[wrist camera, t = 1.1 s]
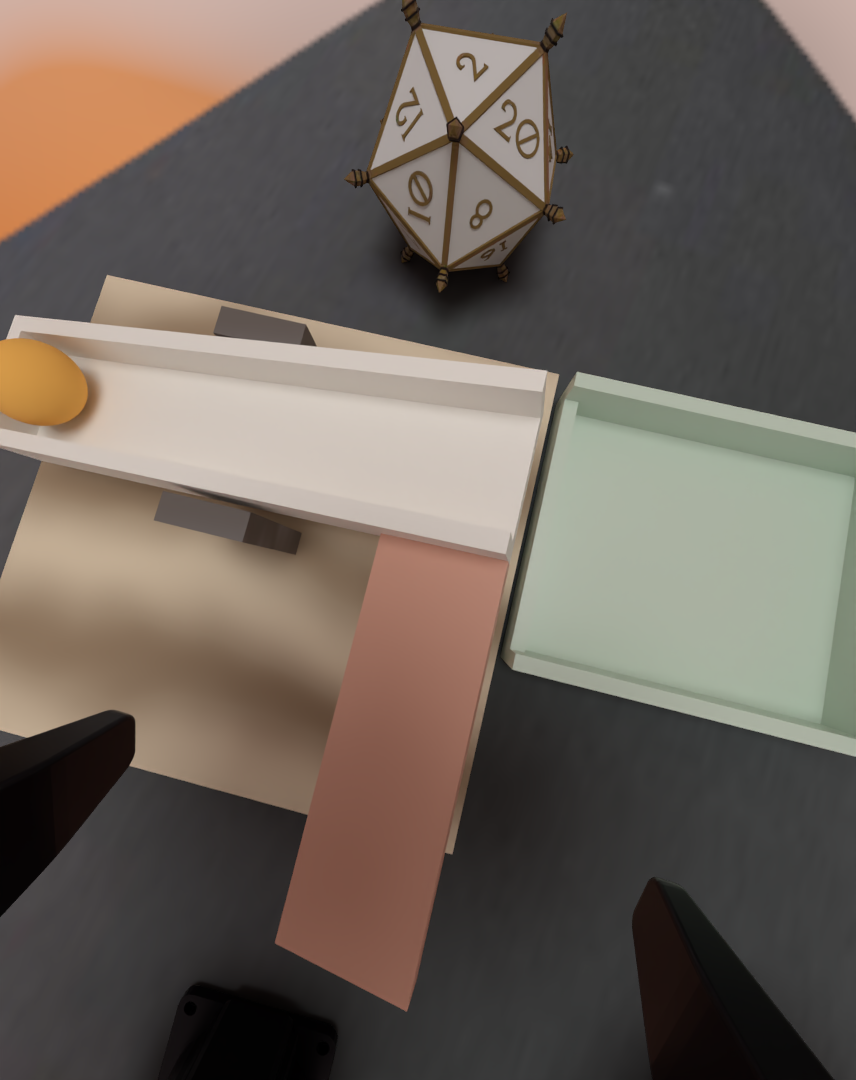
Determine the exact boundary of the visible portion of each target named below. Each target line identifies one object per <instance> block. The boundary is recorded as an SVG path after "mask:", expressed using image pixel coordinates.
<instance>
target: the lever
mask: <svg viewBox="0 0 856 1080" xmlns="http://www.w3.org/2000/svg"><path fill="white" fill-rule="evenodd" d="M13 338H25V339H32V340H37V341H41V342H43V343H46V344H49V345H51V346H53V347H55V348H57V349H59V350H60V351H62V352H63V353H65V354H66V355H67V356H68V357H70V358H71V359H72V360H73V361H74V362H75V363H76V364H77V366H78V367H79V368H80V370H81V371H82V373H83V375H84V377H85V380H86V383H87V387H88V398H87V402H86V404H85V406H84V408H83V410H82V411H81V412H80V413H79V414H78V415H77V416H76V417H75V418H73V419H71V420H70V421H68V422H65V423H62V424H58V425H53V426H38V425H31V424H27V423H23V422H20V421H17V420H15V419H13V418H11V417H9V416H7V415H5V414H3V413H2V412H0V448H2V449H5V450H9V451H12V452H15V453H18V454H22V455H25V456H28V457H31V458H35V459H38V460H41V461H44V462H48V463H53V464H57V465H62V466H66V467H71V468H75V469H80V470H84V471H89V472H93V473H98V474H102V475H107V476H111V477H116V478H121V479H125V480H130V481H134V482H139V483H143V484H148V485H152V486H157V487H161V488H166V489H170V490H175V491H179V492H184V493H188V494H193V495H197V496H202V497H206V498H211V499H215V500H220V501H224V502H229V503H233V504H238V505H242V506H247V507H251V508H256V509H260V510H265V511H269V512H274V513H278V514H283V515H287V516H292V517H296V518H301V519H305V520H310V521H314V522H319V523H323V524H328V525H332V526H337V527H341V528H346V529H350V530H355V531H359V532H364V533H368V534H373V535H377V536H380V538H379V542H378V546H377V550H376V554H375V558H374V561H373V565H372V569H371V573H370V577H369V581H368V585H367V588H366V592H365V596H364V600H363V604H362V608H361V612H360V616H359V619H358V623H357V627H356V631H355V635H354V639H353V643H352V646H351V650H350V654H349V658H348V662H347V666H346V670H345V674H344V677H343V681H342V685H341V689H340V693H339V697H338V701H337V704H336V708H335V712H334V716H333V720H332V724H331V728H330V732H329V735H328V739H327V743H326V747H325V751H324V755H323V759H322V762H321V766H320V770H319V774H318V778H317V782H316V786H315V789H314V793H313V797H312V801H311V805H310V809H309V813H308V817H307V820H306V824H305V828H304V832H303V836H302V840H301V844H300V847H299V851H298V855H297V859H296V863H295V867H294V871H293V875H292V878H291V882H290V886H289V890H288V894H287V898H286V902H285V905H284V909H283V913H282V917H281V921H280V925H279V929H278V932H277V936H276V940H275V944H277V945H279V946H281V947H283V948H285V949H287V950H289V951H291V952H293V953H295V954H297V955H299V956H300V957H302V958H304V959H306V960H308V961H310V962H312V963H314V964H316V965H318V966H320V967H322V968H324V969H326V970H327V971H329V972H331V973H333V974H335V975H337V976H339V977H341V978H343V979H345V980H347V981H349V982H351V983H353V984H354V985H356V986H358V987H360V988H362V989H364V990H366V991H368V992H370V993H372V994H374V995H376V996H378V997H380V998H381V999H383V1000H385V1001H387V1002H389V1003H391V1004H393V1005H395V1006H397V1007H399V1008H401V1009H403V1010H405V1011H407V1010H408V1007H409V1003H410V1000H411V997H412V993H413V990H414V987H415V983H416V980H417V975H418V971H419V967H420V962H421V958H422V953H423V949H424V944H425V940H426V935H427V931H428V926H429V922H430V917H431V913H432V909H433V904H434V900H435V895H436V891H437V886H438V882H439V877H440V873H441V868H442V864H443V859H444V855H445V851H446V846H447V842H448V837H449V833H450V828H451V824H452V819H453V815H454V810H455V806H456V802H457V797H458V793H459V788H460V784H461V779H462V775H463V770H464V766H465V761H466V757H467V752H468V748H469V744H470V739H471V735H472V730H473V726H474V721H475V717H476V712H477V708H478V703H479V699H480V694H481V690H482V686H483V681H484V677H485V672H486V668H487V663H488V659H489V654H490V650H491V645H492V641H493V637H494V632H495V628H496V623H497V619H498V614H499V610H500V605H501V601H502V596H503V592H504V587H505V583H506V579H507V574H508V570H509V565H510V561H511V556H512V552H513V547H514V543H515V538H516V534H517V529H518V525H519V521H520V516H521V512H522V507H523V503H524V498H525V494H526V489H527V485H528V480H529V476H530V472H531V467H532V463H533V458H534V454H535V449H536V445H537V440H538V436H539V431H540V427H541V422H542V418H543V412H544V401H545V390H546V379H547V371H545V370H535V369H526V368H516V367H506V366H497V365H487V364H478V363H468V362H459V361H449V360H439V359H430V358H420V357H411V356H401V355H392V354H382V353H372V352H363V351H353V350H344V349H334V348H325V347H315V346H305V345H296V344H286V343H277V342H267V341H257V340H248V339H238V338H229V337H219V336H210V335H200V334H190V333H181V332H171V331H162V330H152V329H143V328H133V327H123V326H114V325H104V324H95V323H85V322H76V321H66V320H56V319H47V318H37V317H28V316H18V315H15V317H14V320H13V322H12V325H11V328H10V330H9V333H8V336H7V339H13Z"/></svg>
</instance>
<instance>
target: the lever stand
mask: <svg viewBox="0 0 856 1080" xmlns="http://www.w3.org/2000/svg"><path fill="white" fill-rule="evenodd" d="M90 323H95V324H104V325H114V326H123V327H133V328H143V329H152V330H162V331H171V332H181V333H190V334H200V335H210V336H219V337H229V338H238V339H248V340H257V341H267V342H277V343H286V344H296V345H305V346H315V347H325V348H334V349H344V350H353V351H363V352H372V353H382V354H392V355H401V356H411V357H420V358H430V359H439V360H449V361H459V362H468V363H478V364H487V365H497V366H506V367H516V368H526V369H532V368H527V367H523V366H518V365H514V364H509V363H505V362H500V361H496V360H491V359H487V358H482V357H477V356H473V355H468V354H464V353H459V352H455V351H450V350H446V349H441V348H436V347H432V346H427V345H423V344H418V343H414V342H409V341H405V340H400V339H396V338H391V337H386V336H382V335H377V334H373V333H368V332H364V331H359V330H355V329H350V328H346V327H341V326H336V325H332V324H327V323H323V322H318V321H314V320H309V319H305V318H300V317H296V316H291V315H286V314H282V313H277V312H273V311H268V310H264V309H259V308H255V307H250V306H246V305H241V304H236V303H232V302H227V301H223V300H218V299H214V298H209V297H205V296H200V295H196V294H191V293H186V292H182V291H177V290H173V289H168V288H164V287H159V286H155V285H150V284H146V283H141V282H136V281H132V280H127V279H123V278H118V277H114V276H109V275H107V277H106V280H105V283H104V285H103V288H102V291H101V294H100V297H99V300H98V303H97V305H96V308H95V311H94V314H93V317H92V320H91V322H90ZM535 370H537V369H535ZM558 377H559V374H555V373H550V372H547V379H546V390H545V401H544V412H543V418H542V422H541V427H540V431H539V436H538V440H537V445H536V449H535V454H534V458H533V463H532V467H531V472H530V476H529V480H528V485H527V489H526V494H525V498H524V503H523V507H522V512H521V516H520V521H519V525H518V529H517V534H516V538H515V543H514V547H513V552H512V556H511V561H510V565H509V570H508V574H507V579H506V583H505V587H504V592H503V596H502V601H501V605H500V610H499V614H498V619H497V623H496V628H495V632H494V637H493V641H492V645H491V650H490V654H489V659H488V663H487V668H486V672H485V677H484V681H483V686H482V690H481V694H480V699H479V703H478V708H477V712H476V717H475V721H474V726H473V730H472V735H471V739H470V744H469V748H468V752H467V757H466V761H465V766H464V770H463V775H462V779H461V784H460V788H459V793H458V797H457V802H456V806H455V810H454V815H453V819H452V824H451V828H450V833H449V837H448V842H447V846H446V851H445V853H448V854H453V849H454V845H455V840H456V836H457V831H458V827H459V822H460V818H461V813H462V809H463V804H464V800H465V795H466V791H467V786H468V782H469V777H470V773H471V768H472V764H473V759H474V755H475V750H476V746H477V741H478V737H479V732H480V728H481V723H482V719H483V714H484V710H485V705H486V701H487V696H488V692H489V687H490V683H491V678H492V674H493V669H494V665H495V660H496V656H497V651H498V647H499V642H500V638H501V633H502V629H503V624H504V620H505V615H506V611H507V606H508V602H509V597H510V593H511V588H512V584H513V579H514V575H515V570H516V566H517V561H518V557H519V552H520V548H521V543H522V539H523V534H524V530H525V526H526V521H527V517H528V512H529V508H530V503H531V499H532V494H533V490H534V485H535V481H536V476H537V472H538V467H539V463H540V458H541V454H542V449H543V445H544V440H545V436H546V431H547V427H548V422H549V418H550V413H551V409H552V404H553V400H554V395H555V391H556V386H557V382H558ZM379 538H380V536H377V535H373V534H368V533H364V532H359V531H355V530H350V529H346V528H341V527H337V526H332V525H328V524H323V523H319V522H314V521H310V520H305V519H301V518H296V517H292V516H287V515H283V514H278V513H274V512H269V511H265V510H260V509H256V508H251V507H247V506H242V505H238V504H233V503H229V502H224V501H220V500H215V499H211V498H206V497H202V496H197V495H193V494H188V493H184V492H179V491H175V490H170V489H166V488H161V487H157V486H152V485H148V484H143V483H139V482H134V481H130V480H125V479H121V478H116V477H111V476H107V475H102V474H98V473H93V472H89V471H84V470H80V469H75V468H71V467H66V466H62V465H57V464H53V463H48V462H44V461H42V462H41V465H40V468H39V471H38V473H37V476H36V479H35V482H34V485H33V488H32V490H31V493H30V496H29V499H28V502H27V505H26V508H25V510H24V513H23V516H22V519H21V522H20V525H19V527H18V530H17V533H16V536H15V539H14V542H13V545H12V547H11V550H10V553H9V556H8V559H7V562H6V564H5V567H4V570H3V573H2V576H1V579H0V730H1V731H5V732H9V733H12V734H16V735H19V736H23V737H27V738H28V737H31V736H34V735H37V734H40V733H43V732H45V731H48V730H51V729H54V728H57V727H60V726H63V725H66V724H69V723H72V722H74V721H77V720H80V719H83V718H86V717H89V716H92V715H95V714H98V713H101V712H103V711H107V710H118V711H121V712H124V713H128V714H131V715H132V716H133V717H134V718H135V722H136V742H135V755H134V758H133V760H132V762H131V764H130V765H129V766H132V767H136V768H139V769H143V770H147V771H150V772H154V773H158V774H161V775H165V776H168V777H172V778H176V779H179V780H183V781H187V782H190V783H194V784H198V785H201V786H205V787H208V788H212V789H216V790H219V791H223V792H227V793H230V794H234V795H238V796H241V797H245V798H248V799H252V800H256V801H259V802H263V803H267V804H270V805H274V806H278V807H281V808H285V809H288V810H292V811H296V812H299V813H303V814H307V815H308V813H309V809H310V805H311V801H312V797H313V793H314V789H315V786H316V782H317V778H318V774H319V770H320V766H321V762H322V759H323V755H324V751H325V747H326V743H327V739H328V735H329V732H330V728H331V724H332V720H333V716H334V712H335V708H336V704H337V701H338V697H339V693H340V689H341V685H342V681H343V677H344V674H345V670H346V666H347V662H348V658H349V654H350V650H351V646H352V643H353V639H354V635H355V631H356V627H357V623H358V619H359V616H360V612H361V608H362V604H363V600H364V596H365V592H366V588H367V585H368V581H369V577H370V573H371V569H372V565H373V561H374V558H375V554H376V550H377V546H378V542H379Z"/></svg>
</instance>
